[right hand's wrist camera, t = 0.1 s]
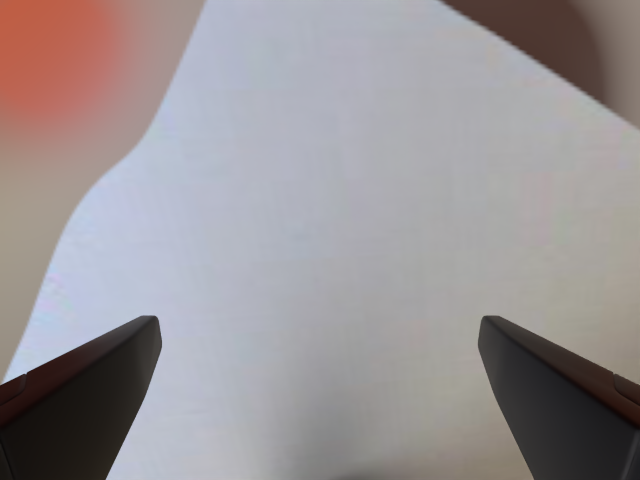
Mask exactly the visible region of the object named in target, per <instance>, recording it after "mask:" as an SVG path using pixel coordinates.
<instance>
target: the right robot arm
mask: <svg viewBox="0 0 640 480" xmlns="http://www.w3.org/2000/svg"><path fill="white" fill-rule="evenodd" d="M161 348H162V338H161V332H160V326H159V320H158V318H157V317H156V316H140V317H138V318H136V319H134V320H132V321H130V322H128V323H126V324H124V325H122V326H120V327H118V328H116V329H114V330H112V331H110V332H108V333H106V334H104V335H102V336H100V337H98V338H95V339H93V340H91V341H89V342H87V343H85V344H83V345H81V346H79V347H77V348H75V349H73V350H71V351H69V352H67V353H65V354H63V355H61V356H59V357H57V358H55V359H53V360H51V361H49V362H47V363H45V364H43V365H41V366H39V367H37V368H35V369H33V370H31V371H29V372H27V374H23V375H21V376H19V377H17V378H15V379H13V380H11V381H8V382H6V383H4V384H2V385H0V480H106V478H107V476H108V474H109V471H110V469H111V467H112V465H113V463H114V461H115V459H116V457H117V455H118V453H119V451H120V448H121V446H122V444H123V442H124V440H125V438H126V436H127V434H128V432H129V430H130V428H131V425H132V423H133V421H134V419H135V417H136V415H137V413H138V411H139V409H140V407H141V405H142V402H143V400H144V398H145V395H146V393H147V390H148V387H149V384H150V381H151V378H152V375H153V373H154V370H155V367H156V364H157V361H158V358H159V355H160V352H161ZM478 348H479V352H480V355H481V358H482V361H483V364H484V367H485V370H486V373H487V375H488V378H489V381H490V384H491V387H492V390H493V393H494V395H495V398H496V400H497V402H498V405H499V407H500V409H501V411H502V413H503V415H504V417H505V419H506V421H507V423H508V425H509V428H510V430H511V432H512V434H513V436H514V438H515V440H516V442H517V444H518V446H519V448H520V451H521V453H522V455H523V457H524V459H525V461H526V463H527V465H528V467H529V469H530V471H531V474H532V476H533V478H534V480H640V385H638V384H636V383H634V382H632V381H629V380H627V379H625V378H623V377H621V376H619V375H617V374H613V372H611V371H609V370H607V369H605V368H603V367H601V366H599V365H597V364H595V363H593V362H591V361H589V360H587V359H585V358H583V357H581V356H579V355H577V354H575V353H573V352H571V351H569V350H567V349H565V348H563V347H561V346H559V345H557V344H555V343H553V342H551V341H549V340H547V339H545V338H542V337H540V336H538V335H536V334H534V333H532V332H530V331H528V330H526V329H524V328H522V327H520V326H518V325H516V324H514V323H512V322H510V321H508V320H506V319H504V318H502V317H500V316H484V317H483V318H482V320H481V326H480V332H479V338H478Z"/></svg>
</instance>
